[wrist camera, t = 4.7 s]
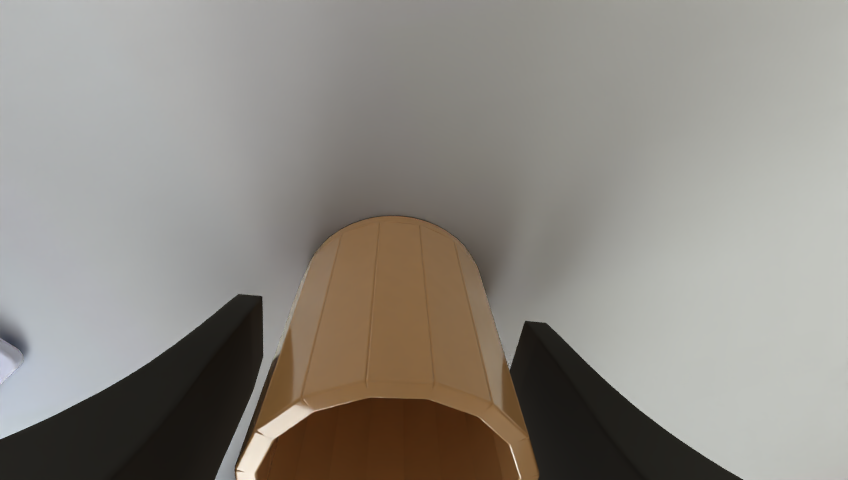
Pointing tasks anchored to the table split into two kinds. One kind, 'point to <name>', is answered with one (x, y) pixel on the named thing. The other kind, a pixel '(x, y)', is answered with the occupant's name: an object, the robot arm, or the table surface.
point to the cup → (389, 368)
